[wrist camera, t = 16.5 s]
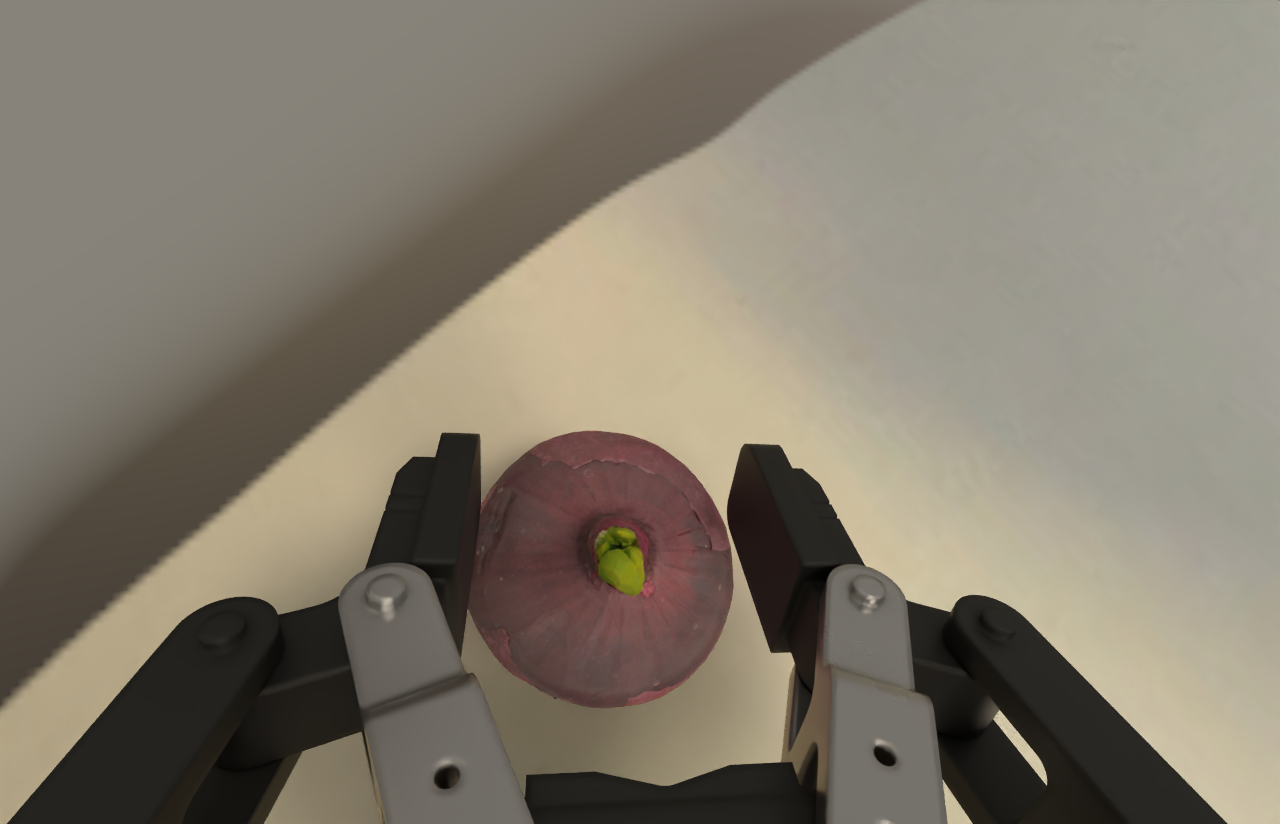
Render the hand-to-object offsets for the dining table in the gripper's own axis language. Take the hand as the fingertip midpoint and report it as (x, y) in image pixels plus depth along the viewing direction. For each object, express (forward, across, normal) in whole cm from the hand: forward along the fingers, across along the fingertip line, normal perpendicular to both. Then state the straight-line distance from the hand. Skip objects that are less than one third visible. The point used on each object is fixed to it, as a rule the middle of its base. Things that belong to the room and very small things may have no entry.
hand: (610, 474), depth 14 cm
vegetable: (+3, 0, +6) cm, 6 cm away
